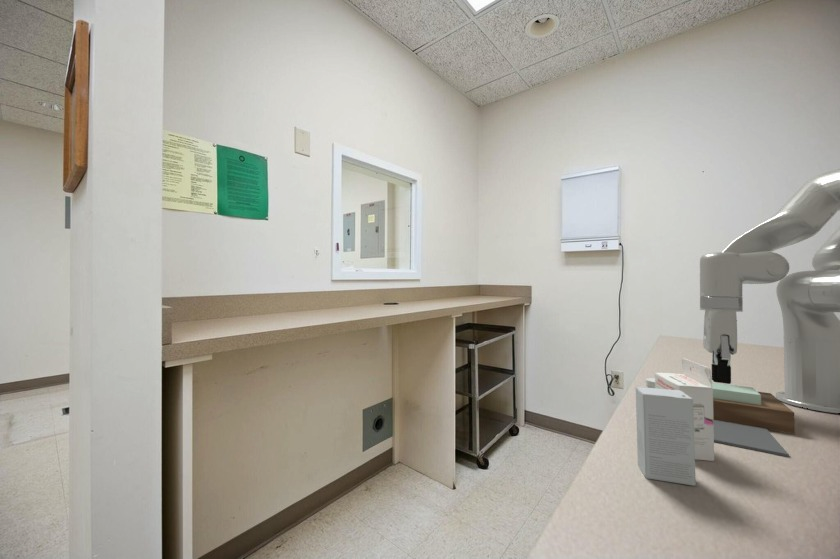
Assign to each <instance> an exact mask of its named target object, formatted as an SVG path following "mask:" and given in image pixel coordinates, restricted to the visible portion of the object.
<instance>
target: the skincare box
mask: <svg viewBox="0 0 840 559" xmlns="http://www.w3.org/2000/svg"><path fill="white" fill-rule="evenodd" d="M635 413H636V443H637V444H636V448H637V451H636V453H637V465H638V468H639V469H640V470H641V472H642V474H643V475H644V477H645V479H646V480H647V479H648V480H655V481H660V482H661V481H662V482H668V483H674V484H681V485H687V486H692V487H695V486H696V484H697V482H696V459H695V443H694V414H693V399H692V398H691V397H689V396H688V395H687V394H685V393H684V392H682V391H680V390H669V389H657V388H647V387H642V386H636V387H635Z"/></svg>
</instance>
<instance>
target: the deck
mask: <svg viewBox="0 0 840 559" xmlns="http://www.w3.org/2000/svg"><path fill="white" fill-rule="evenodd" d="M757 392H758V393H759V394H760V395H761V405H757V404H750V403H743V402H736V401H729V400H722V399H715V398H713V417H714V420H719V421H725V422H731V423H736V424H742V425H748V426H754V427H760V428H765V429H767V430H768V431H774V432H779V433H780V432H781V433H786V434H792V435H795V434H796V431H795V430H796V428H795V426H796V425H795V424H796V423H795V412H794V411H793V410H792V409H791V408H789V407H788V406H787V405H786V404H785V403H784V402H782V401H780V400H778V399H777V398H776V395H774V394H772V392H764V391H757Z"/></svg>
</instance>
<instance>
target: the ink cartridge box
mask: <svg viewBox="0 0 840 559" xmlns="http://www.w3.org/2000/svg"><path fill="white" fill-rule="evenodd" d="M681 365H682V366H681V367H682V373H675V372H674V373H673V372H654V378H655V388H657V389H669V390H680V391H682V392H684V393H685V394H687V395H688V396H689V397H691V398H692V399H693V414H694V443H695V461H696V460H698V461H699V460H700V461H709V462H714V461H715V442H714V423H713V422H714V417H713V388H712V383H713V380H712V370H711V369H710V367H709V366H706V365H703V364H702V363H698V362H696V361H693V360H690V359H687V358H685V357H681ZM692 368H693V369H696V370H697V371H699V373H698V372H696V371H693V370H692Z"/></svg>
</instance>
